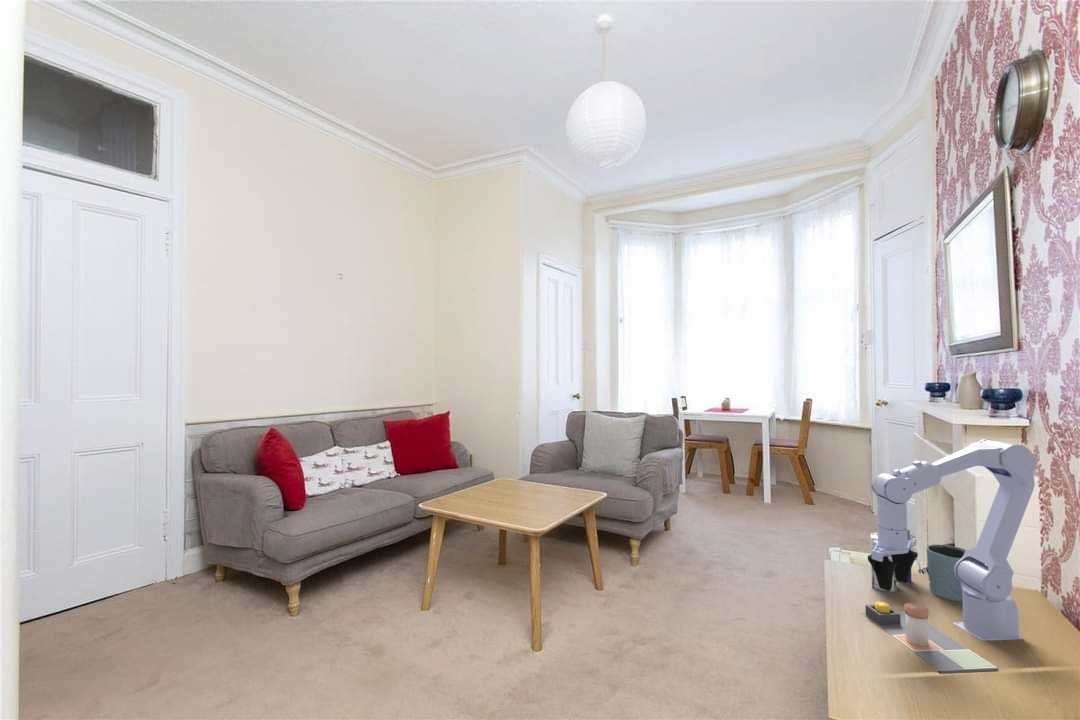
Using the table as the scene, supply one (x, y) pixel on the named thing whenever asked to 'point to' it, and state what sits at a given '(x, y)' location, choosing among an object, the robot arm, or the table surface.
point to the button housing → (883, 616)
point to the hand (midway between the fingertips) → (893, 585)
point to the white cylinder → (916, 624)
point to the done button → (882, 607)
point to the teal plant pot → (944, 571)
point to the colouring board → (940, 650)
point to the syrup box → (873, 576)
